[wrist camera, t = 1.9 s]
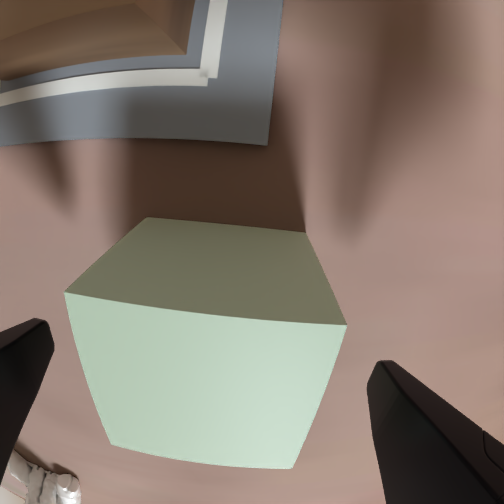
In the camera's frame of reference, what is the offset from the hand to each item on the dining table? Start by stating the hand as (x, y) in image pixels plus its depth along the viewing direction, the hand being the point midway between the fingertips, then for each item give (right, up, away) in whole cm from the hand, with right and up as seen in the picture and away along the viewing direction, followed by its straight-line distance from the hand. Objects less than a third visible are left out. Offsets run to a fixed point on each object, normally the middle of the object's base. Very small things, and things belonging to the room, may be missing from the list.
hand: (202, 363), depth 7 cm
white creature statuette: (-18, -20, +12) cm, 30 cm away
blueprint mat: (-4, +12, -1) cm, 12 cm away
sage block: (0, +1, +3) cm, 4 cm away
